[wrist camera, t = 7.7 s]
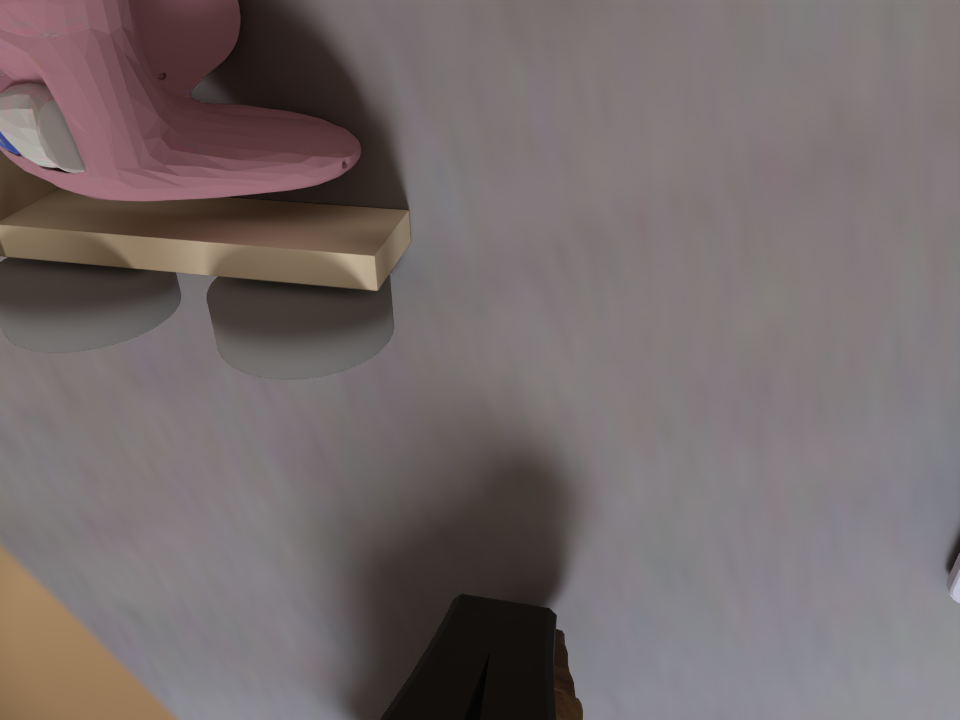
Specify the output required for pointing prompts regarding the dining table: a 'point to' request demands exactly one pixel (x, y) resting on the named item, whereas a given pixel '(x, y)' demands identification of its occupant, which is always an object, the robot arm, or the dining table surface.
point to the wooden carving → (564, 684)
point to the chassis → (199, 250)
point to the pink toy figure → (146, 105)
